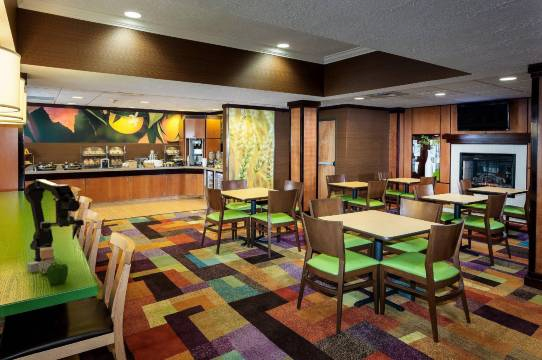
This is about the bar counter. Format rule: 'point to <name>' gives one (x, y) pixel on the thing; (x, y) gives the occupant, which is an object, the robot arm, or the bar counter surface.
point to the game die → (45, 264)
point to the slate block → (32, 267)
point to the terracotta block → (46, 252)
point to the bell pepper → (57, 273)
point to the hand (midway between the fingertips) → (62, 240)
